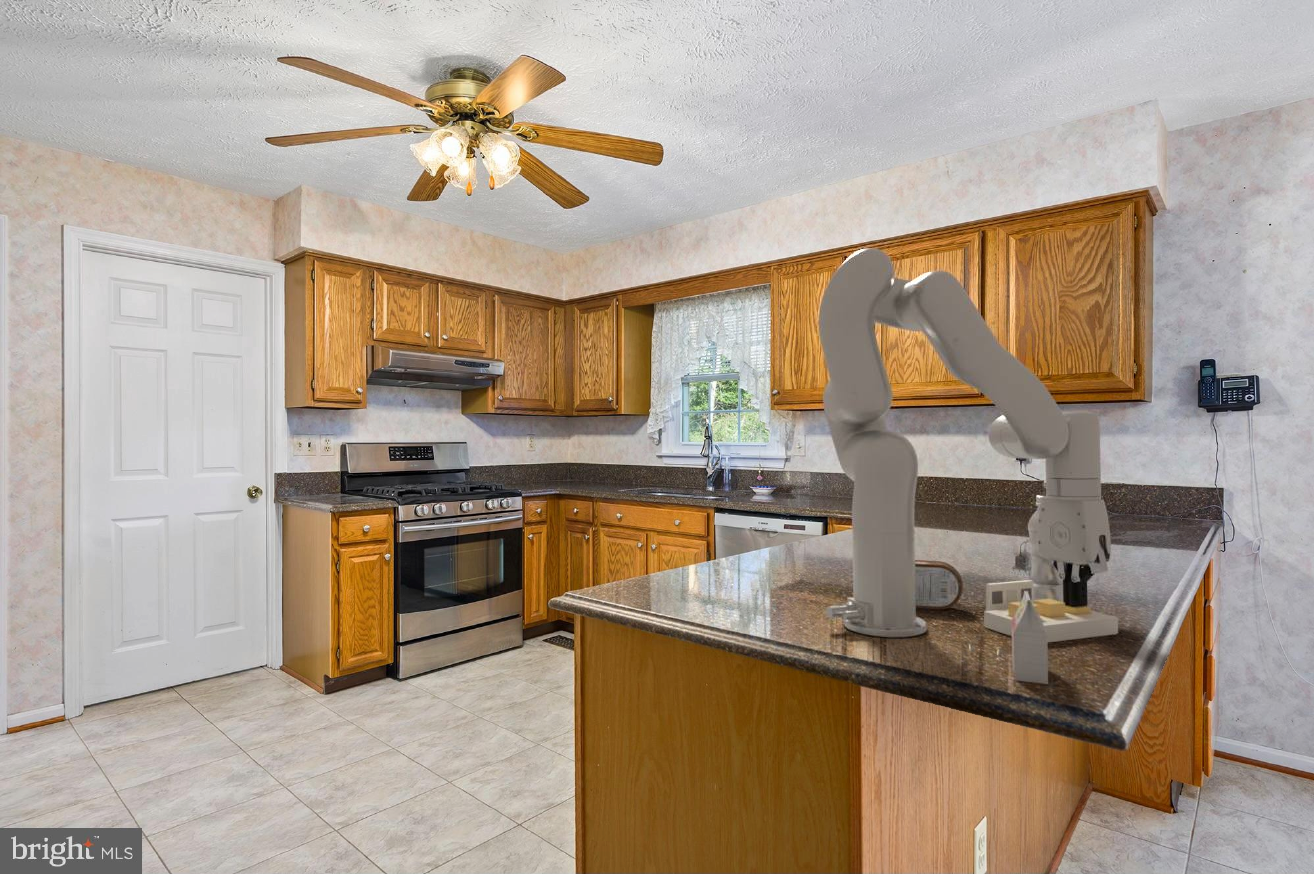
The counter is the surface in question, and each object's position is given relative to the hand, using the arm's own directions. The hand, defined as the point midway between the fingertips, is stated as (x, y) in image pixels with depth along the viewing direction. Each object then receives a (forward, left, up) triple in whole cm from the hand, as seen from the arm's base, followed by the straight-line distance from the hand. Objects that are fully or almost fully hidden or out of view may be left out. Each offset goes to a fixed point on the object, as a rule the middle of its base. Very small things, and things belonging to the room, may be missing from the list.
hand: (1075, 605), depth 112 cm
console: (-5, 0, -4) cm, 6 cm away
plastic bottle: (+5, +10, -4) cm, 12 cm away
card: (-5, +8, -4) cm, 10 cm away
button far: (0, 0, -3) cm, 3 cm away
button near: (-10, 0, -2) cm, 10 cm away
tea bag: (-24, -15, -4) cm, 29 cm away
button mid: (-5, 0, -2) cm, 6 cm away
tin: (-14, +20, -4) cm, 25 cm away
